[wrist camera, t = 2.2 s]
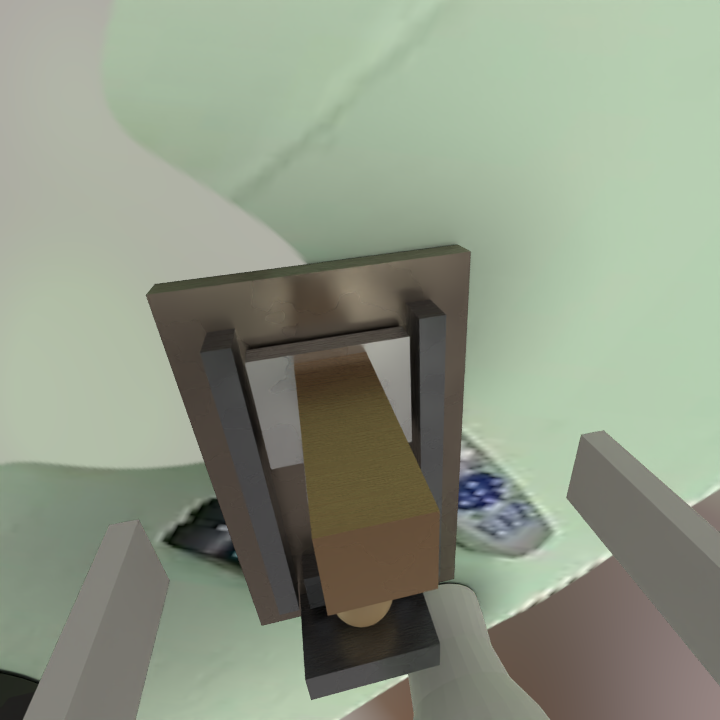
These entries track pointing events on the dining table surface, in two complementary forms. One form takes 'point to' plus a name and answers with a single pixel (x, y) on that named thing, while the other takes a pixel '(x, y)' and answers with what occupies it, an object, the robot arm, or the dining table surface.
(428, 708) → the cup
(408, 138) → the dining table surface
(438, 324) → the press base
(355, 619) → the nut
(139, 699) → the robot arm
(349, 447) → the wooden press block
